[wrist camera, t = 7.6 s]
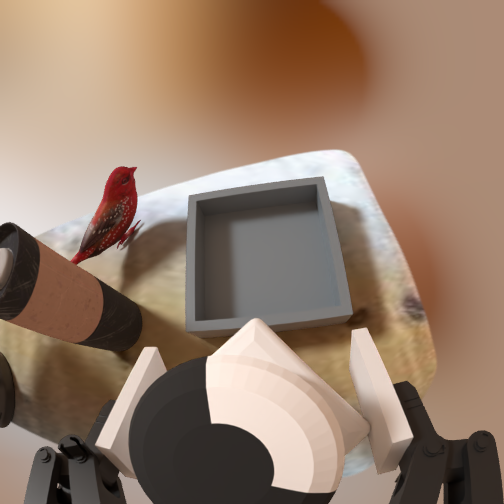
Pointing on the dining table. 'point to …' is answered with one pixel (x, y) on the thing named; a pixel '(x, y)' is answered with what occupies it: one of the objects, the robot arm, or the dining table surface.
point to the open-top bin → (264, 259)
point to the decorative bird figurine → (111, 215)
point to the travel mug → (61, 296)
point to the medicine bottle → (243, 428)
